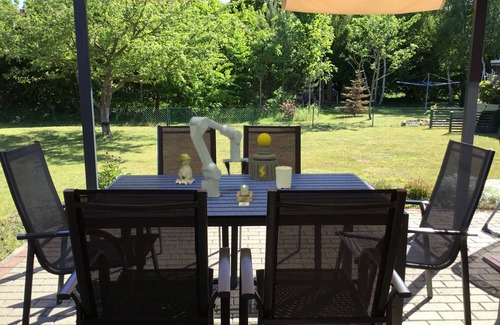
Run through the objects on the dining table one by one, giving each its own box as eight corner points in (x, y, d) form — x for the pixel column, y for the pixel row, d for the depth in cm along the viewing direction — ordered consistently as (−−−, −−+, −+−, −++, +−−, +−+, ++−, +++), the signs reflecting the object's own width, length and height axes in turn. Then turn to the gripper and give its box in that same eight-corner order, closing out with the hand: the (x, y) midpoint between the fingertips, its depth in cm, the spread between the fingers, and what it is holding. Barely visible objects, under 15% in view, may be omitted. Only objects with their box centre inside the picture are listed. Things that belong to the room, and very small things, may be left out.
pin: (240, 201, 215) (240, 186, 214) (241, 199, 219) (240, 184, 217) (248, 201, 215) (247, 186, 213) (248, 199, 218) (248, 184, 217)
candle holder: (277, 185, 252) (277, 166, 250) (293, 186, 249) (293, 166, 248) (273, 189, 243) (273, 168, 241) (290, 189, 240) (290, 169, 238)
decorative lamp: (277, 181, 265) (277, 134, 261) (248, 180, 268) (247, 134, 264) (280, 175, 284) (280, 132, 279) (252, 175, 287) (252, 131, 282)
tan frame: (236, 201, 213) (236, 197, 213) (238, 195, 227) (237, 191, 227) (252, 201, 213) (252, 197, 213) (252, 195, 227) (252, 191, 226)
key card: (238, 205, 205) (238, 205, 205) (239, 202, 211) (239, 202, 211) (248, 205, 205) (248, 205, 205) (249, 202, 211) (249, 202, 211)
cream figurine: (194, 180, 272) (193, 152, 269) (195, 184, 259) (194, 154, 256) (175, 180, 270) (174, 152, 267) (175, 184, 257) (174, 155, 255)
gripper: (223, 152, 230) (224, 176, 232) (249, 151, 233) (249, 175, 235) (221, 151, 236) (222, 174, 238) (246, 150, 239) (247, 173, 241)
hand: (235, 174), depth 237 cm, fingers open, 7 cm apart
